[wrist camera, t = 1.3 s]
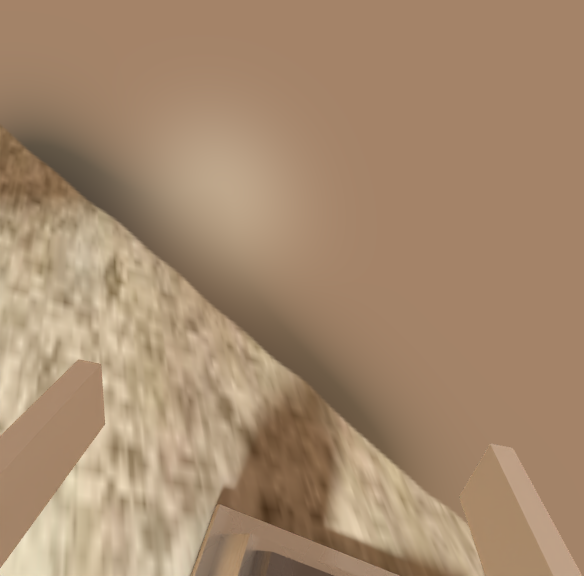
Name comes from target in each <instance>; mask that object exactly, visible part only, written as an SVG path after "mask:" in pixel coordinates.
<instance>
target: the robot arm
mask: <svg viewBox="0 0 584 576" xmlns="http://www.w3.org/2000/svg"><path fill="white" fill-rule="evenodd" d="M104 425H105V417H104V401H103V386H102V370H101V364H98V363H93V362H88V361H84V360H78V361H77V362H76V363H75V364H74V365H73V366H72V367H71V368H69V369H68V370H67V371H66V372H65V373H64V374H63V375H62V376H61V377H60V378H59V379H58V380H57V381H56V382H55V383H54V384H53V385H52V386H51V387H50V388H49V389H48V390H47V391H46V392H45V393H44V394H43V395H42V396H41V397H40V398H39V399H38V400H37V401H36V402H35V403H34V404H33V405H32V406H31V407H30V408H29V409H28V410H27V411H26V412H24V413H23V414H22V415H21V416H20V417H19V418H18V419H17V420H16V421H15V422H14V423H13V424H12V425H11V426H10V427H9V428H8V429H7V430H6V431H5V432H4V433H3V434H2V435H1V436H0V568H1V566H2V565H3V564H4V562H5V561H6V560H7V558H8V557H9V555H10V554H11V553H12V551H13V550H14V549H15V547H16V546H17V544H18V543H19V542H20V540H21V539H22V538H23V536H24V535H25V533H26V532H27V531H28V529H29V528H30V527H31V525H32V524H33V522H34V521H35V520H36V518H37V517H38V516H39V514H40V513H41V511H42V510H43V509H44V507H45V506H46V505H47V503H48V502H49V500H50V499H51V498H52V496H53V495H54V494H55V492H56V491H57V489H58V488H59V487H60V485H61V484H62V483H63V481H64V480H65V478H66V477H67V476H68V474H69V473H70V471H71V470H72V469H73V467H74V466H75V465H76V463H77V462H78V460H79V459H80V458H81V456H82V455H83V454H84V452H85V451H86V449H87V448H88V447H89V445H90V444H91V443H92V441H93V440H94V438H95V437H96V436H97V434H98V433H99V432H100V430H101V429H102V427H103V426H104ZM459 498H460V501H461V504H462V507H463V510H464V513H465V516H466V519H467V522H468V525H469V528H470V531H471V534H472V537H473V540H474V543H475V546H476V549H477V552H478V555H479V558H480V561H481V564H482V567H483V570H484V573H485V576H582V575H581V573H580V571H579V569H578V567H577V566H576V564H575V562H574V560H573V558H572V556H571V555H570V553H569V551H568V549H567V547H566V545H565V543H564V542H563V540H562V538H561V536H560V534H559V532H558V531H557V529H556V527H555V525H554V523H553V521H552V520H551V518H550V516H549V514H548V512H547V510H546V508H545V507H544V505H543V503H542V501H541V499H540V497H539V495H538V494H537V492H536V490H535V488H534V486H533V484H532V482H531V481H530V479H529V477H528V475H527V473H526V471H525V470H524V468H523V466H522V464H521V462H520V460H519V458H518V457H517V455H516V453H515V451H514V449H513V448H510V447H505V446H499V445H495V444H489V446H488V448H487V449H486V451H485V453H484V455H483V457H482V458H481V460H480V462H479V464H478V465H477V467H476V469H475V470H474V472H473V474H472V476H471V477H470V479H469V481H468V482H467V484H466V486H465V488H464V489H463V491H462V493H461V495H460V496H459Z"/></svg>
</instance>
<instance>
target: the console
mask: <svg viewBox="0 0 584 576" xmlns="http://www.w3.org/2000/svg"><path fill="white" fill-rule="evenodd" d="M191 576H399V575H397V574H394V573H392V572H389V571H387V570H384V569H382V568H379V567H377V566H374V565H372V564H369V563H367V562H364V561H362V560H359V559H357V558H354V557H352V556H349V555H347V554H344V553H342V552H339V551H337V550H334V549H332V548H329V547H327V546H324V545H322V544H319V543H316V542H314V541H311V540H309V539H306V538H304V537H301V536H299V535H296V534H294V533H291V532H289V531H286V530H284V529H281V528H279V527H276V526H274V525H271V524H269V523H266V522H264V521H261V520H259V519H256V518H254V517H251V516H249V515H246V514H244V513H241V512H239V511H236V510H234V509H231V508H228V507H226V506H223V505H221V504H219V505H216V507H215V510H214V513H213V516H212V518H211V521H210V524H209V527H208V529H207V532H206V535H205V538H204V541H203V543H202V546H201V549H200V552H199V554H198V557H197V560H196V563H195V566H194V568H193V571H192V574H191Z"/></svg>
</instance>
